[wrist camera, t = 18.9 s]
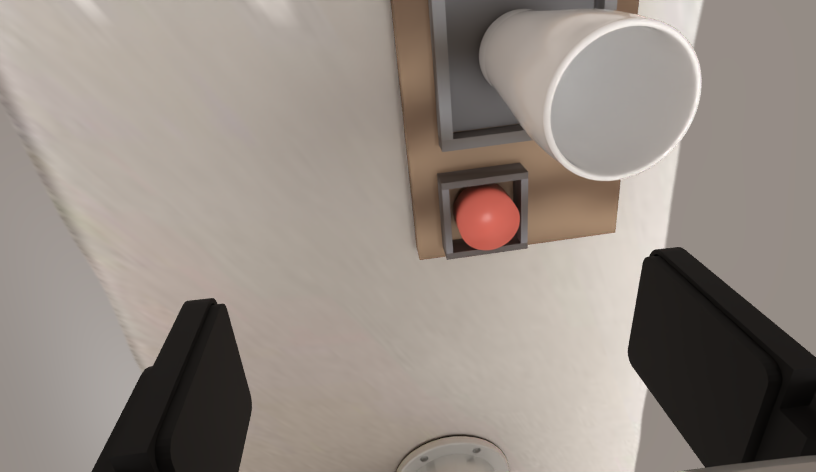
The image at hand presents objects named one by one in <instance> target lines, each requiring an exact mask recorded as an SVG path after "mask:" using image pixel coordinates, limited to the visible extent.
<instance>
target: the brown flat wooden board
mask: <svg viewBox="0 0 816 472" xmlns="http://www.w3.org/2000/svg"><path fill="white" fill-rule="evenodd" d="M638 5H639V0H391V8H392V17H393V27H394V36H395V46H396V55H397V65H398V74H399V83H400V93H401V102H402V112H403V121H404V131H405V140H406V150H407V159H408V169H409V178H410V188H411V197H412V207H413V216H414V226H415V235H416V245H417V250H418V254H419V258H420V260H424V259H431V258H438V257H445V256H446V258H447V260H448V259H455V258H462V257H469V256H477V255H484V254H491V253H498V252H505V251H512V250H519V249H526V248H527V246H528V245H530V244H537V243H544V242H551V241H558V240H565V239H572V238H579V237H586V236H593V235H601V234H608V233H615V229H616V219H617V209H618V200H619V190H620V180H621V179H620V180H613V181H597V180H591V179H587V178H583V177H581V176H578V175H576V174H574V173H572V172H571V171H569V170H568V169H566V168H565V167H564V166H563V165H561V164H560V163H559V162H557V161H556V160H555V159H553V158H552V157H551V156H549V155H548V154H547V153H546V152H545V151H544V150H543V149H541V148H540V147H539V146H538V145H537V144H536V143H535V142H534V141H533V140H532V139H531V138H530V136H529V135H528V134H527V133H526V132H525V130H524V129H523V128H522V127H521V125H520V124H519V122H518V121H517V120H516V118H515V117H514V115H513V114H512V112H511V111H510V110H509V108H508V107H507V105H506V104H505V102H504V101H503V100H502V98H501V97H500V95H499V94H498V93H497V91H496V90H495V89H494V88H493V87H492V86H491V85H490V84H489V83H488V82H487V81H486V79H485V78H484V76H483V74H482V71H481V68H480V64H479V49H480V44H481V41H482V38H483V36H484V34H485V32H486V30H487V29H488V28H489V26H490V25H491V24H492V23H493V22H494V21H495V20H496V19H497V18H498V17H500V16H501V15H503V14H505V13H507V12H509V11H512V10H515V9H533V10H559V9H580V8H598V9H610V10H617V11H623V12H629V13H633V14H637V15H638ZM492 183H494V184H497V185H499V186H500V187H502V188H503V189H504V190H505V191H506V193H507V194H508V195H509V197H510V198H511V200H512V201H513V202H514V204H515V205H516V207H517V209H518V211H519V215H520V223H519V227H518V230H517V232H516V234H515V235H514V237H513V238H512V239H511V240H510V241H509V242H508V243H506V244H505V245H503V246H501V247H499V248H497V249H493V250H479V249H475V248H473V247H471V246H469V245H468V244H467V243H466V242H465V241H464V240H463V238H462V236H461V234H460V232H459V229H458V227H457V225H456V222H455V220H454V217H453V207H454V203H455V201H456V199H457V197H458V196H459V194H460V193H461V192H462V191H463V190H464V189H466V188H467V187H470V186H478V185H485V184H492Z"/></svg>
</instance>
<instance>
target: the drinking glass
mask: <svg viewBox="0 0 816 472" xmlns="http://www.w3.org/2000/svg"><path fill="white" fill-rule="evenodd" d="M479 64H480V68H481V71H482V74H483V76H484V78H485V79H486V81H487V82H488V83H489V84H490V85H491V86H492V87H493V88H494V89H495V90H496V91H497V93H498V94H499V95H500V97H501V98H502V100H503V101H504V102H505V104H506V105H507V107H508V108H509V110H510V111H511V112H512V114H513V115H514V117H515V118H516V120H517V121H518V122H519V124H520V125H521V127H522V128H523V129H524V130H525V132H526V133H527V134H528V135H529V136H530V138H531V139H532V140H533V141H534V142H535V143H536V144H537V145H538V146H539V147H540V148H541V149H543V150H544V151H545V152H546V153H547V154H548V155H549V156H551V157H552V158H553V159H555V160H556V161H557V162H559V163H560V164H561V165H563V166H564V167H565V168H566V169H568V170H569V171H571V172H572V173H574V174H576V175H578V176H581V177H583V178H587V179H591V180H597V181H613V180H620V179H625V178H628V177H631V176H634V175H637V174H639V173H641V172H643V171H645V170H647V169H649V168H651V167H652V166H654V165H655V164H657V163H658V162H659V161H661V160H662V159H663V158H664V157H666V156H667V155H668V154H669V153H670V152H671V151H672V150H673V149H674V148H675V147H676V145H677V144H678V143H679V142H680V141H681V139H682V138H683V136H684V135H685V133H686V132H687V130H688V128H689V126H690V125H691V123H692V121H693V119H694V116H695V113H696V111H697V108H698V104H699V100H700V94H701V84H702V83H701V81H702V80H701V69H700V65H699V61H698V57H697V55H696V53H695V50H694V49H693V47H692V45H691V44H690V42H689V41H688V40H687V38H686V37H685V36H684V35H683V34H682V33H681V32H679V31H678V30H677V29H676V28H674V27H672V26H671V25H669V24H667V23H664V22H662V21H659V20H655V19H651V18H648V17H644V16H641V15H637V14H633V13H629V12H623V11H617V10H610V9H598V8H580V9H559V10H533V9H515V10H512V11H509V12H507V13H505V14H503V15H501V16H500V17H498V18H497V19H496V20H495V21H494V22H493V23H492V24H491V25H490V26H489V28H488V29H487V30H486V32H485V34H484V36H483V38H482V41H481V44H480V49H479Z"/></svg>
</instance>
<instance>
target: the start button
mask: <svg viewBox="0 0 816 472" xmlns="http://www.w3.org/2000/svg"><path fill="white" fill-rule="evenodd" d="M453 217H454V220H455V222H456V225H457V227H458V229H459V232H460V234H461V236H462V238H463V240H464V241H465V242H466V243H467V244H468V245H469V246H471V247H473V248H475V249H479V250H493V249H497V248H499V247H501V246H503V245H505V244H506V243H508V242H509V241H510V240H511V239H512V238H513V237H514V235H515V234H516V232H517V230H518V227H519V223H520V215H519V211H518V209H517V207H516V205H515V204H514V202H513V201H512V200H511V198H510V197H509V195H508V194H507V193H506V191H505V190H504V189H503V188H502V187H500V186H499V185H497V184H494V183H492V184H485V185H478V186H470V187H467V188H466V189H464V190H463V191H462V192H461V193H460V194H459V196H458V197H457V199H456V201H455V203H454V207H453Z"/></svg>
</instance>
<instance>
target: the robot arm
mask: <svg viewBox="0 0 816 472" xmlns="http://www.w3.org/2000/svg"><path fill="white" fill-rule="evenodd" d="M628 357H629V361H630V363H631V365H632V367H633V368H634V370H635V371H636V372H637V374H638V375H639V376H640V378H641V379H642V381H643V382H644V383H645V385H646V386H647V388H648V389H649V390H650V392H651V393H652V394H653V396H654V397H655V398H656V400H657V401H658V403H659V404H660V405H661V407H662V408H663V410H664V411H665V412H666V414H667V415H668V417H669V418H670V419H671V421H672V422H673V424H674V425H675V426H676V427H677V429H678V430H679V432H680V433H681V434H682V436H683V437H684V439H685V440H686V441H687V443H688V444H689V446H690V447H691V448H692V450H693V451H694V453H695V454H696V455H697V457H698V458H699V459H700V461H701V462H702V464H703V465H704V466H705V468H700V469H693V470H685V471H677V472H816V357H815V356H813V355H812V354H811V353H810V352H808V351H807V350H806V349H805V348H804V347H802V346H801V345H800V344H799V343H798V342H796V341H795V340H794V339H793V338H792V337H790V336H789V335H788V334H787V333H785V332H784V331H783V330H782V329H781V328H779V327H778V326H777V325H776V324H775V323H773V322H772V321H771V320H770V319H769V318H767V317H766V316H765V315H764V314H762V313H761V312H760V311H759V310H758V309H756V308H755V307H754V306H753V305H752V304H750V303H749V302H748V301H747V300H745V299H744V298H743V297H742V296H741V295H739V294H738V293H737V292H736V291H734V290H733V289H732V288H731V287H730V286H728V285H727V284H726V283H725V282H724V281H722V280H721V279H720V278H719V277H717V276H716V275H715V274H714V273H713V272H711V271H710V270H709V269H708V268H706V267H705V266H704V265H703V264H702V263H700V262H699V261H698V260H697V259H696V258H694V257H693V256H692V255H690V254H689V253H688V252H687V251H686V250H684V249H683V248H681V247H675V248H666V249H657V250H654V251H652V252H651V254H650V256H649V257H646V258H645V259H644V261H643V265H642V270H641V276H640V282H639V288H638V294H637V299H636V305H635V311H634V317H633V323H632V328H631V334H630V340H629V346H628ZM251 411H252V401H251V395H250V391H249V387H248V384H247V380H246V377H245V373H244V369H243V366H242V362H241V358H240V355H239V351H238V347H237V344H236V340H235V336H234V333H233V329H232V326H231V322H230V318H229V315H228V311H227V308H226V306H225V304H217V302H216V300H215V299H214V298H209V299H200V300H191V301H186V302H185V303H184V304H183V306H182V308H181V310H180V312H179V314H178V316H177V318H176V320H175V322H174V324H173V327H172V329H171V331H170V333H169V335H168V337H167V339H166V341H165V343H164V345H163V347H162V349H161V351H160V353H159V355H158V357H157V359H156V361H155V363H154V365H153V366H151V367H148V368H146V369H145V370H144V372H143V373H142V374H141V376H140V378H139V380H138V382H137V384H136V386H135V388H134V390H133V392H132V394H131V396H130V398H129V400H128V402H127V404H126V406H125V408H124V409H123V411H122V413H121V415H120V417H119V419H118V421H117V423H116V425H115V427H114V429H113V431H112V433H111V435H110V437H109V439H108V441H107V443H106V445H105V447H104V449H103V451H102V452H101V454H100V456H99V458H98V460H97V463H96V464H95V466H94V468H93V470H92V472H239V467H240V462H241V458H242V453H243V449H244V444H245V439H246V435H247V430H248V426H249V421H250V416H251ZM396 472H510V470H509V465H508V462H507V460H506V457H505V455H504V454H503V453H502V451H501V450H500V449H499V448H497V447H496V446H495V445H494V444H492V443H490V442H488V441H486V440H482V439H479V438H475V437H467V436H453V437H447V438H441V439H438V440H435V441H431V442H429V443H427V444H425V445H422V446H421V447H419V448H417V449H416V450H414V451H413V452H411V453H410V454H409V455H408V456H407V457H406V458H405V459H404V460H403V461H402V463H401V464H400V465H399V467H398V469H397V471H396Z"/></svg>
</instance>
